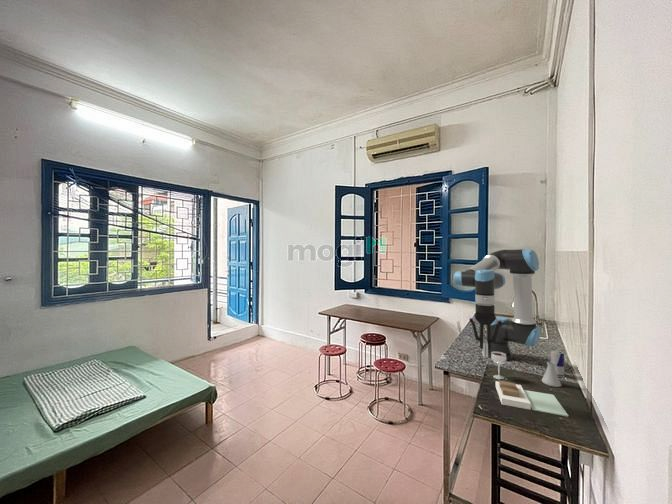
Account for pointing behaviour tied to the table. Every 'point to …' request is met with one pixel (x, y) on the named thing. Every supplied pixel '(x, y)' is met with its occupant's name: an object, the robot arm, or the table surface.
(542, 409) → the mat
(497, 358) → the wineglass
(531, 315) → the robot arm
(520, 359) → the table surface
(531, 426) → the table surface
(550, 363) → the flask
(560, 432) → the table surface
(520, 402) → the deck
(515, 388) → the walnut tile
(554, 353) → the energy drink
